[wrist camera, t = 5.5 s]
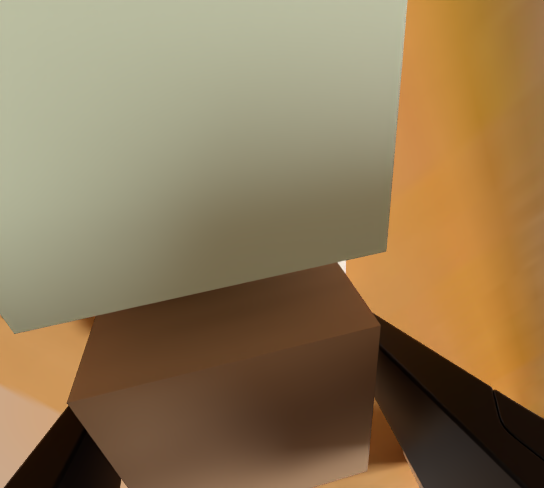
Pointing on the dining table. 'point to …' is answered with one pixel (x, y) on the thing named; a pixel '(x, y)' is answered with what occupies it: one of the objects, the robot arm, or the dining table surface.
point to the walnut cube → (235, 385)
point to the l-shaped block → (188, 146)
